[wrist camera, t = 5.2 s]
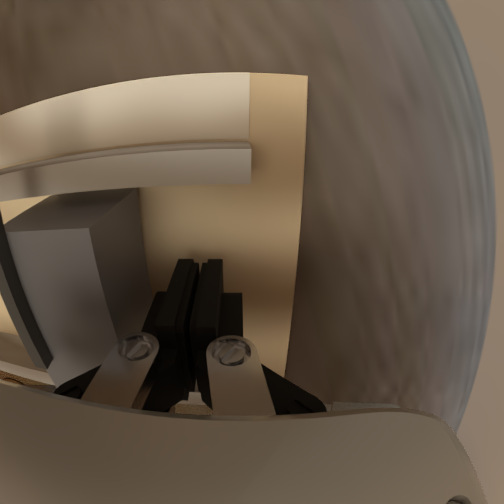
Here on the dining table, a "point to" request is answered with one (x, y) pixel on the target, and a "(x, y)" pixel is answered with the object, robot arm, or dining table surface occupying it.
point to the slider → (75, 278)
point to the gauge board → (177, 183)
